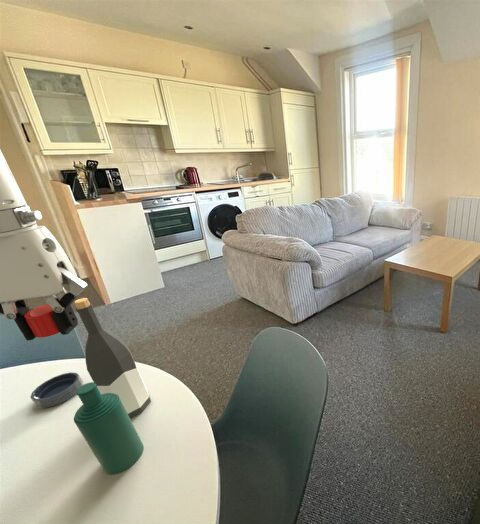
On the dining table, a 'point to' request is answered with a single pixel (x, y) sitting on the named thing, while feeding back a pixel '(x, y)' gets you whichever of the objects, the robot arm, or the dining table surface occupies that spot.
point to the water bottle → (107, 429)
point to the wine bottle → (112, 363)
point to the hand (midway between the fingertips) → (53, 331)
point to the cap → (42, 321)
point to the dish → (56, 390)
